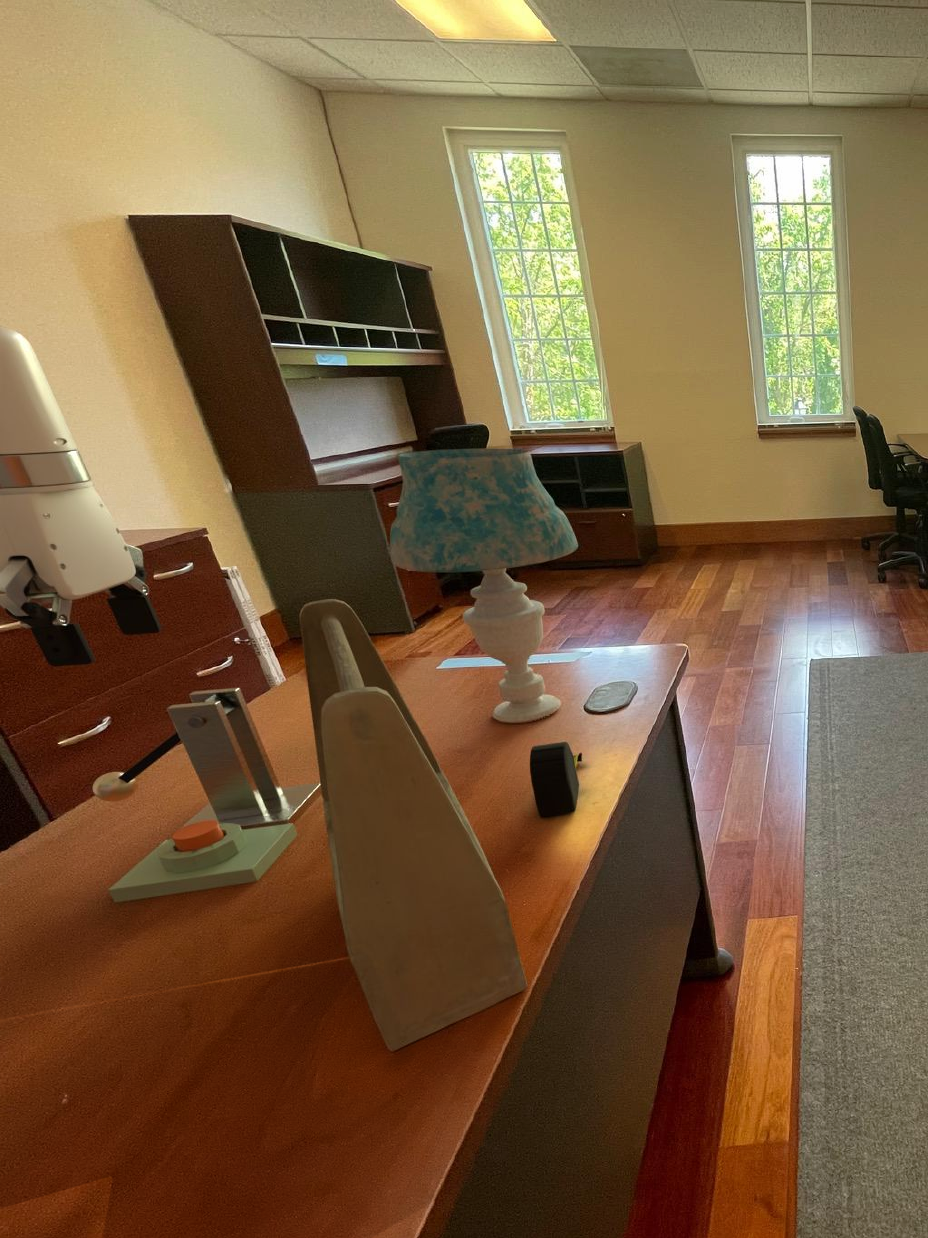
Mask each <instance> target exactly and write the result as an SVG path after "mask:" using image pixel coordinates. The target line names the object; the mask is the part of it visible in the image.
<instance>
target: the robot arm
mask: <svg viewBox="0 0 928 1238" xmlns="http://www.w3.org/2000/svg"><path fill="white" fill-rule="evenodd" d="M94 486H95V485H94V483H93V480H92V479H91V476H90V473H89V471H88V469H87V467H86V465H85V461H84V459H83V458H82V455H81V453H80V451H79V450H78V446H77V444H76V442H75V439H74V438H73V435H72V433H71V431H70V429H69V426H68V424H67V422H66V420H65V417H64V415H63V412H62V411H61V408H60V406H59V403H58V401H57V400H56V396H55V395H54V392H53V390H52V388H51V386H50V384H49V382H48V379H47V377H46V375H45V372H44V369H43V367H42V365H41V363H40V361H39V359H38V355H37V354H36V352H35V351H34V349H33V347H32V345H31V343H30V341H29V340H28V339H27V338H26V337H25V336H24V335H22V334H21V333H20V332H18V331H16V330H14V329H12V328H8V327H5V326H0V606H1V607H2V608H3V609H4V610H5V611H4V612H5V613H6V614H7V615H8V616H9V617H11V618H13V619H15V620H17V621H19V624H20V625H21V627H23V628H25V629H30V632H31V633H32V635H33V637H34V639H35V641H36V643H37V645H38V647H39V648H40V650H41V652H42V655H43V656H44V658H45V660H46V662H47V664H48V665H50V666H51V667H54V668H56V667H67V666H68V667H69V666H83V665H90V664H92V663H94V662H95V661H96V658H95V655H94V653H93V651H92V649H91V647H90V645H89V643H88V641H87V639H86V637H85V636H84V635H85V634H84V632H83V631H82V629H81V627H80V625H79V623H78V622H70V619H71V613H72V606H73V601H74V600H79V599H82V598H86V597H88V596H92V595H94V594H97V593H100V592H101V593H102V592H103V591H104V592H105V593H106V594H108V595H110V596H111V597H107V598H106V601H107V604H108V605H109V608H110V610H111V612H112V615H113V617H114V619H115V621H116V624H117V625H118V628H119V630H120V633H122V634H123V635H126V636H131V635H132V636H133V635H134V636H135V635H146V634H157V633H160V632H162V631H163V627H162V626H161V623H160V620H159V618H158V616H157V613H156V612H155V608H154V607H153V605H152V602H151V599H150V598H149V594H150V588H149V586H148V585H147V584H146V579H147V570H146V569H145V568H144V555H143V551H142V549H140V548H139V547H136V546H133V545H131V544H127V543H126V542H125V540H124V539H125V538H124V537H123V535H122V533H121V531H120V529H119V527H118V525H117V524H116V522H115V520H114V518H113V517H112V515H111V513H110V510H109V509H108V508H107V506H106V504H105V503H104V501H103V500H102V498H101V497H100V495H99V494H98V492H97V490H96V489H95V488H94ZM44 604H45V605H48V604H52V606H51V610H50V609H49V608H46V607H45V606H43V605H44Z"/></svg>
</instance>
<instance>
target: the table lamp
mask: <svg viewBox="0 0 928 1238" xmlns="http://www.w3.org/2000/svg"><path fill="white" fill-rule="evenodd" d="M397 461H398V464H399V468H400V472H401V478H402V487H401V494H400V496H399V501H398V505H397V508H396V517H395V519H394V520H393V522H392V523H391V526H390V531H389V533H390V535H389V549H390V550H389V553H390V559H391V562H392V564H393V565H394V566H396V567H397V568H399V569H403V570H405V571H413V572H421V573H422V572H423V573H467V572H482V573H483V574H484V575H483V577H482V580H481V583H480V585H478V586H476V587H473V588H472V589H471V590H470V597H472V598H473V599H476V600H475V601H474V604H473V606H472V607H470V608H468V609H466V610H465V611H464V612H463V613H462V621H463V623H464V624H465V625H466V626H468V627H469V629H470V631H471V633H472V636H473V639H474V641H475V643H476V645H477V646H478V647H479V649H480V650H481V651H482V652H483V653H484V654H485V655H486V656H488V657H490V658H491V659H494V660H497V661H498V662H501V664H503V665H505V667H506V669H507V670H505V671H504V673H503V674H504V675H503V676H504V678H503V679H501V680H500V681H499V683H498V690H499V695H500V698H501V699H502V700H503V702H501V703H500V704H497V706H496V707H495V708H494V710H493V712H492V713H491V714H492V717H493V719H494V720H496V721H498V722H501V723H506V724H525V723H530V722H536V721H539V720H542V719H545V718H548V717H549V716H551V715H553V714H555V713H556V712H557V711H558V709H560V707H561V706H562V701H561V700H560V699H559V698H558V697H556V696H555V695H552V694H545V693H546V685H545V681H544V677H543V676H542V675H541V674H539V673H534V669H533V668H532V667H531V666H529V665H528V664H529V660H530V658H531V657H532V656H533V655H534V654H535V653H536V652H537V651H538V649H539V648H540V646H542V645H541V644H542V642H543V639H544V625H543V616H544V615H545V613H546V611H545V610H546V609H545V606H544V604H543V603H542V602H540V601H537V600H534V599H530V598H529V597H528V596H527V595H525V593H526V592H527V591H528V586H527V584H526V583H524V582H518V581H515V580H514V579H512V578H511V576H510V575H508V573H506V572H507V569H512V568H518V567H525V566H531V565H536V564H542V563H546V562H550V561H554V560H557V559H560V558H563V557H566V556H568V555H570V554H572V553H574V552H576V550H577V549H578V547H579V542H578V539H577V537H576V535H575V532H574V530H573V528H572V525H571V523H570V521H569V519H568V517H567V516H566V514H565V513H564V511H563V510H561V509H560V507H558V506H557V505H556V504H555V500H554V499H553V497H552V496H551V495H550V494H549V492H548V491H547V490H546V488H545V487H544V485H543V484H542V482H541V481H540V479H539V477H538V476H537V473H536V469H535V466H534V463H533V458H532V454H531V452H530V450H527V449H520V448H496V447H495V448H454V449H453V448H452V449H451V448H450V449H433V450H422V451H421V450H419V451H412V452H405V453H404V452H403V453H399V455H398V460H397ZM555 711H556V712H555ZM550 714H551V715H550ZM545 716H547V717H545ZM543 717H544V718H543ZM540 718H541V719H540ZM537 719H538V720H537ZM533 720H534V721H533Z"/></svg>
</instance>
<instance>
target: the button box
mask: <svg viewBox="0 0 928 1238" xmlns="http://www.w3.org/2000/svg"><path fill="white" fill-rule="evenodd" d="M219 826H220V828H221V830H222V832H223V835H224V837H223V838H222V839H221V840H220V841H218V842H216V843H214V844H212V845H210V846H207V847H204V848H201V849H198V850H194V851H187V852H180V851H179V850H178V848H177V846H176V844H175V842H174V840H173V838H171V839H165V840H163V841H162V842H161V843H160V844H159V845H158V846H157V847H155V848H154V849H153V850H152V851H151V852H150V853H148V854H147V855H146V856H145V857H144V858H143V859H142V860H140V861H139V862H138V863H136V865H135V866H133V867H132V868H131V869H130V870H129V871H128V872H127V873H126V874H124V875H123V876H122V877H121V878H120V879H118V881H116V882H115V883H114V884H113V885H112V886H111V887H109V888H108V893H109V894H110V897H111V898H112V900H113V902H114V903H122V902H129V901H136V900H142V899H150V898H155V897H163V896H169V895H176V894H183V893H189V892H195V891H202V890H208V889H216V888H222V887H229V886H235V885H241V884H248V883H255V882H256V883H257V882H258V881H259V880H260V879H261V878H262V877H263V876H264V874H265V873H266V872H268V870H269V869H270V867H271V866H273V864H274V863H275V862H276V861H277V859H278V858H279V857H280V856H281V855H282V854H283V853H284V851H286V849H287V848H288V846H289V845H291V843H292V842H293V841H294V840H295V839H296V838H297V836H298V833H297V830H296V827H295V824H294V825H293V823H290V824H283V825H275V826H268V827H260V828H253V829H245V830H242V829H241V827H240V825H237V824H231V823H222V824H219Z"/></svg>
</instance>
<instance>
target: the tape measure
mask: <svg viewBox="0 0 928 1238" xmlns="http://www.w3.org/2000/svg"><path fill="white" fill-rule="evenodd" d="M582 761H583V753H582V752H579V753H578V754H575V755H574V754H573V752H572V749H571V746H570V744H569V743H568V742H567V741H561V742H553V743H547V744H539V745H534V746H532V747H531V748H530V754H529V773H530V781H531V787H532V792H533V796H534V801H535V805H536V806H535V807H536V808H537V812H538V816H539V817H540V818H547V817H552V816H559V815H564V814H571V813H575V812H576V810H577V804H578V797H579V790H580V789H579V788H580V781H579V777H578V774H577V773H578V772H577V765H578V763H579V762H582Z"/></svg>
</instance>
